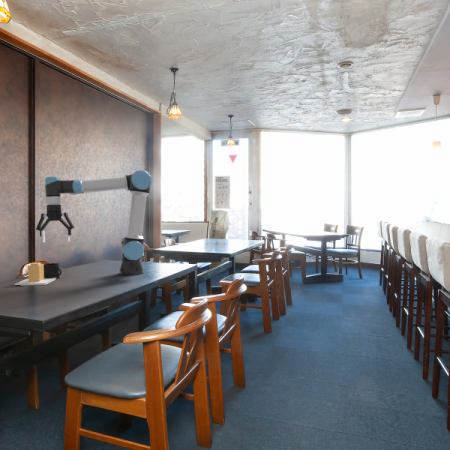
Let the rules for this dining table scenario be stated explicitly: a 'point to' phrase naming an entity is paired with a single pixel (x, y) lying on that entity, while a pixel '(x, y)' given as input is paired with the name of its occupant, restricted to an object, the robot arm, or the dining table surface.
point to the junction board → (43, 282)
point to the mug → (52, 270)
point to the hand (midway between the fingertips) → (56, 241)
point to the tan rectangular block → (35, 272)
